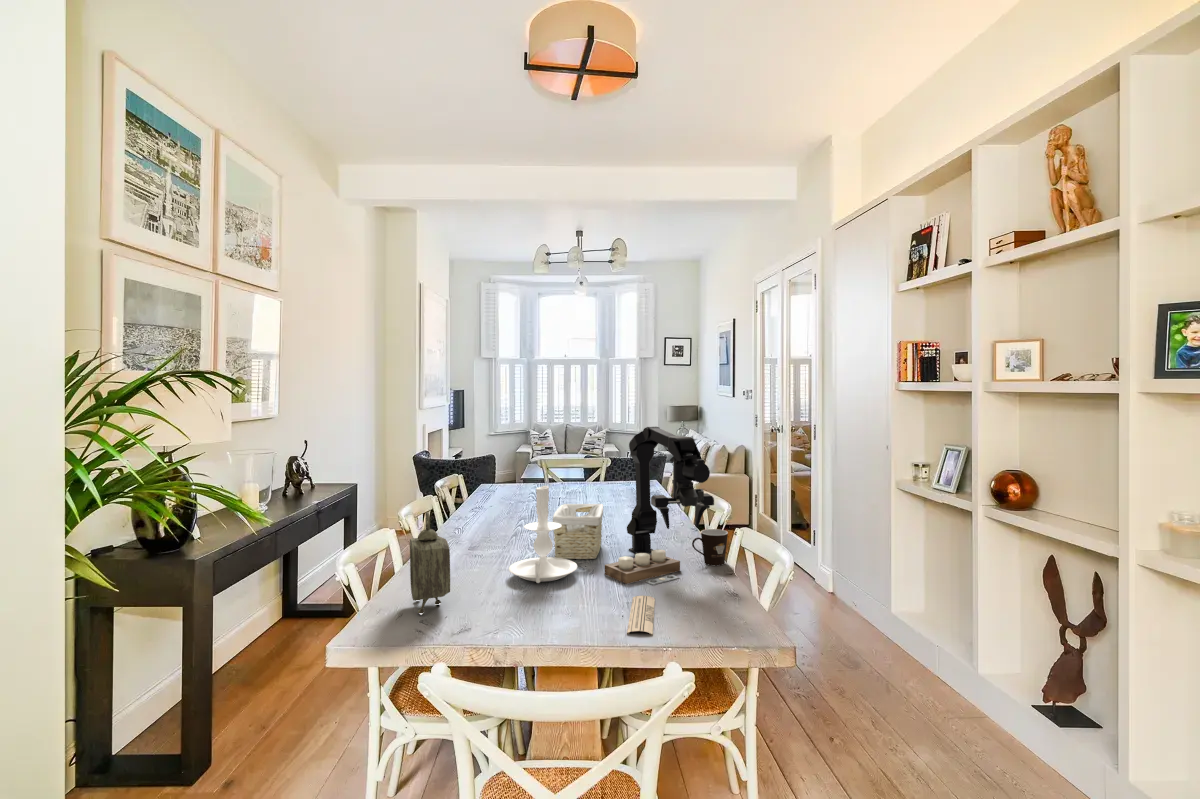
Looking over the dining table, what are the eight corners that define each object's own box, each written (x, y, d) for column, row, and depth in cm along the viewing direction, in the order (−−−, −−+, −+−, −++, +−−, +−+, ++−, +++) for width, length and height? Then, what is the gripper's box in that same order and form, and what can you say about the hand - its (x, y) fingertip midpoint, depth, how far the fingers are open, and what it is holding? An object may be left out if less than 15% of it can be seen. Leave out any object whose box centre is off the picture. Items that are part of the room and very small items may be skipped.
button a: (615, 569, 183) (615, 558, 183) (627, 566, 185) (627, 555, 185) (624, 572, 179) (624, 561, 179) (636, 569, 182) (636, 558, 182)
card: (644, 582, 177) (644, 580, 177) (671, 575, 183) (671, 574, 183) (652, 585, 174) (652, 583, 174) (679, 578, 180) (679, 577, 180)
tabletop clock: (410, 600, 164) (409, 508, 163) (444, 595, 167) (443, 505, 166) (414, 619, 150) (412, 519, 150) (451, 614, 153) (449, 516, 153)
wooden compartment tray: (604, 574, 184) (604, 564, 184) (656, 562, 197) (656, 553, 197) (626, 584, 176) (626, 573, 175) (680, 570, 188) (680, 561, 188)
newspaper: (632, 601, 163) (632, 595, 163) (658, 602, 163) (658, 596, 163) (626, 637, 140) (626, 630, 140) (657, 639, 139) (657, 631, 139)
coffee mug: (726, 559, 200) (726, 529, 199) (729, 567, 191) (729, 535, 191) (690, 558, 201) (690, 528, 201) (692, 566, 192) (692, 535, 192)
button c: (648, 561, 190) (648, 551, 190) (659, 559, 193) (659, 548, 193) (657, 564, 187) (657, 554, 187) (668, 562, 189) (668, 551, 189)
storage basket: (560, 542, 223) (560, 502, 223) (604, 542, 222) (604, 502, 222) (551, 561, 200) (551, 516, 199) (600, 561, 199) (600, 517, 198)
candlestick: (499, 593, 168) (498, 493, 168) (515, 566, 193) (514, 479, 193) (573, 594, 168) (572, 493, 167) (579, 567, 192) (578, 479, 192)
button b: (632, 565, 187) (632, 554, 186) (643, 562, 189) (643, 552, 189) (641, 568, 183) (641, 557, 183) (652, 565, 186) (652, 555, 185)
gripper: (660, 483, 177) (660, 536, 177) (721, 481, 180) (720, 533, 180) (650, 477, 188) (650, 527, 188) (707, 475, 191) (707, 524, 191)
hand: (682, 528), depth 187 cm, fingers open, 9 cm apart
